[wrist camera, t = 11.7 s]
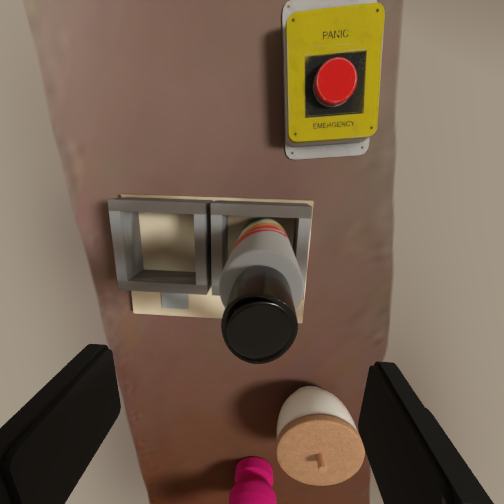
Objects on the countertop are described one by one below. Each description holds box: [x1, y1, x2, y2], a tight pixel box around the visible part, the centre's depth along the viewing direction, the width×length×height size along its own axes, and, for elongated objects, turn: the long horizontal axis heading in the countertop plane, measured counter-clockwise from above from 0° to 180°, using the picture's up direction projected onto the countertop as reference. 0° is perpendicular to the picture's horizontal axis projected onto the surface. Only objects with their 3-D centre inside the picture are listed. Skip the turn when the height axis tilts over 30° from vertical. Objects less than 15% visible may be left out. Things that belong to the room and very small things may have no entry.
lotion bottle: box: [219, 218, 304, 364], centre depth 22 cm, size 6×6×20 cm
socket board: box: [107, 194, 314, 323], centre depth 31 cm, size 16×23×5 cm
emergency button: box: [282, 0, 385, 160], centre depth 26 cm, size 9×4×15 cm
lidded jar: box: [276, 386, 365, 486], centre depth 34 cm, size 11×11×9 cm
